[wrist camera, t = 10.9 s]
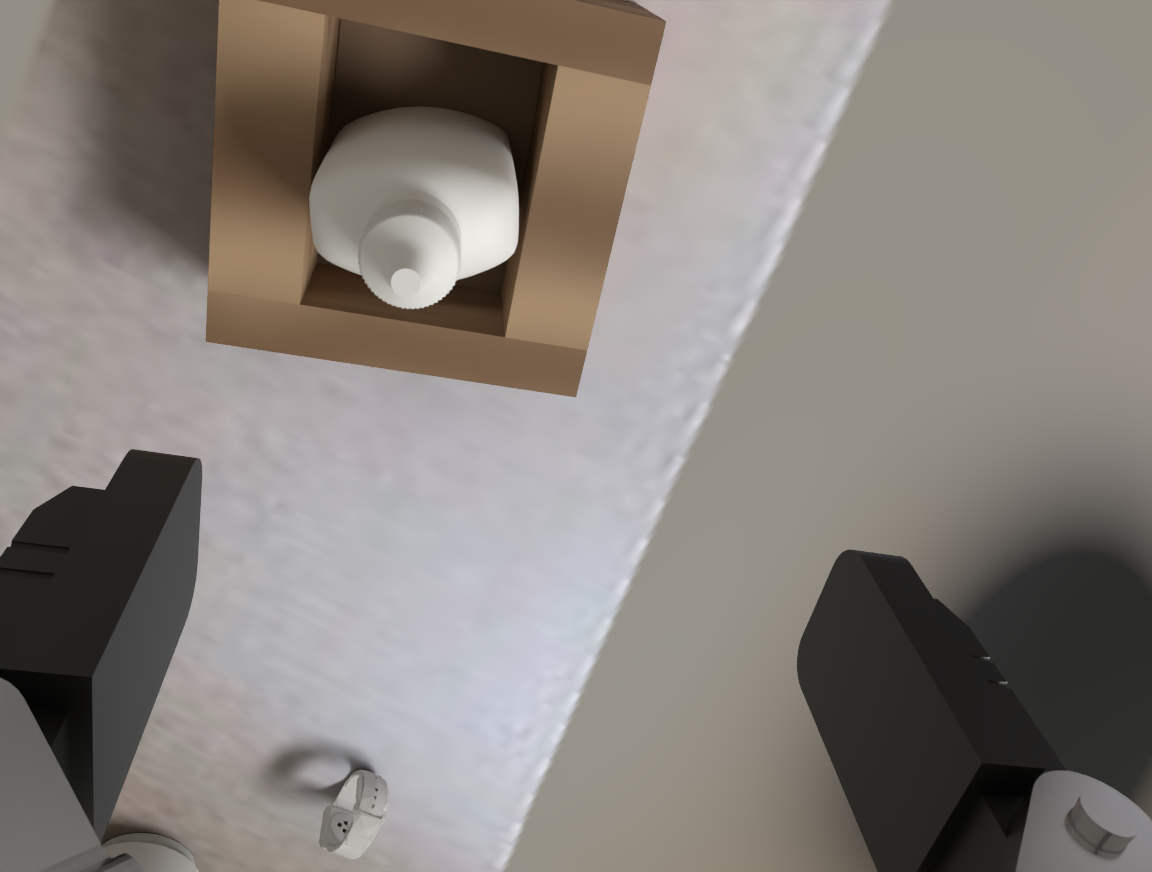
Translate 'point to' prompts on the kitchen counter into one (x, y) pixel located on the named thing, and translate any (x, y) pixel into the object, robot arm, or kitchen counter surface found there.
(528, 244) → the socket block
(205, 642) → the kitchen counter surface
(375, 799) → the smartwatch
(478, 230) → the eye dropper bottle
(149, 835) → the energy drink can
